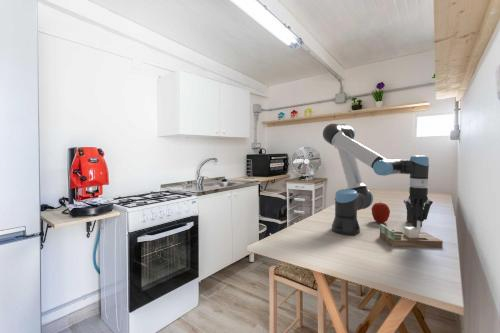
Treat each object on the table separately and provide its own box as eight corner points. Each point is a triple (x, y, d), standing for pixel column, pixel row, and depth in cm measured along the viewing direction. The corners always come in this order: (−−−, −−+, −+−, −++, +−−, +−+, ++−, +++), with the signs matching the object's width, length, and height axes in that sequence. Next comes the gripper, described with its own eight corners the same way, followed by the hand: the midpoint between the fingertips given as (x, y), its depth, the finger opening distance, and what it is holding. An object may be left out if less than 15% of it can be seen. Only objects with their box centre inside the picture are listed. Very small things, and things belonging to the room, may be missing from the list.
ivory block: (403, 234, 124) (404, 226, 124) (412, 234, 124) (413, 226, 124) (408, 237, 120) (409, 229, 119) (418, 237, 119) (418, 229, 119)
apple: (391, 222, 154) (392, 200, 153) (386, 225, 147) (386, 203, 146) (374, 219, 162) (375, 198, 161) (368, 222, 155) (369, 200, 154)
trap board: (379, 236, 129) (379, 223, 129) (424, 237, 128) (425, 224, 127) (392, 246, 116) (392, 232, 116) (442, 247, 115) (443, 232, 114)
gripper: (409, 188, 117) (407, 235, 118) (437, 187, 116) (435, 236, 117) (400, 185, 124) (399, 230, 126) (427, 185, 123) (425, 230, 125)
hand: (416, 233), depth 122 cm, fingers closed
